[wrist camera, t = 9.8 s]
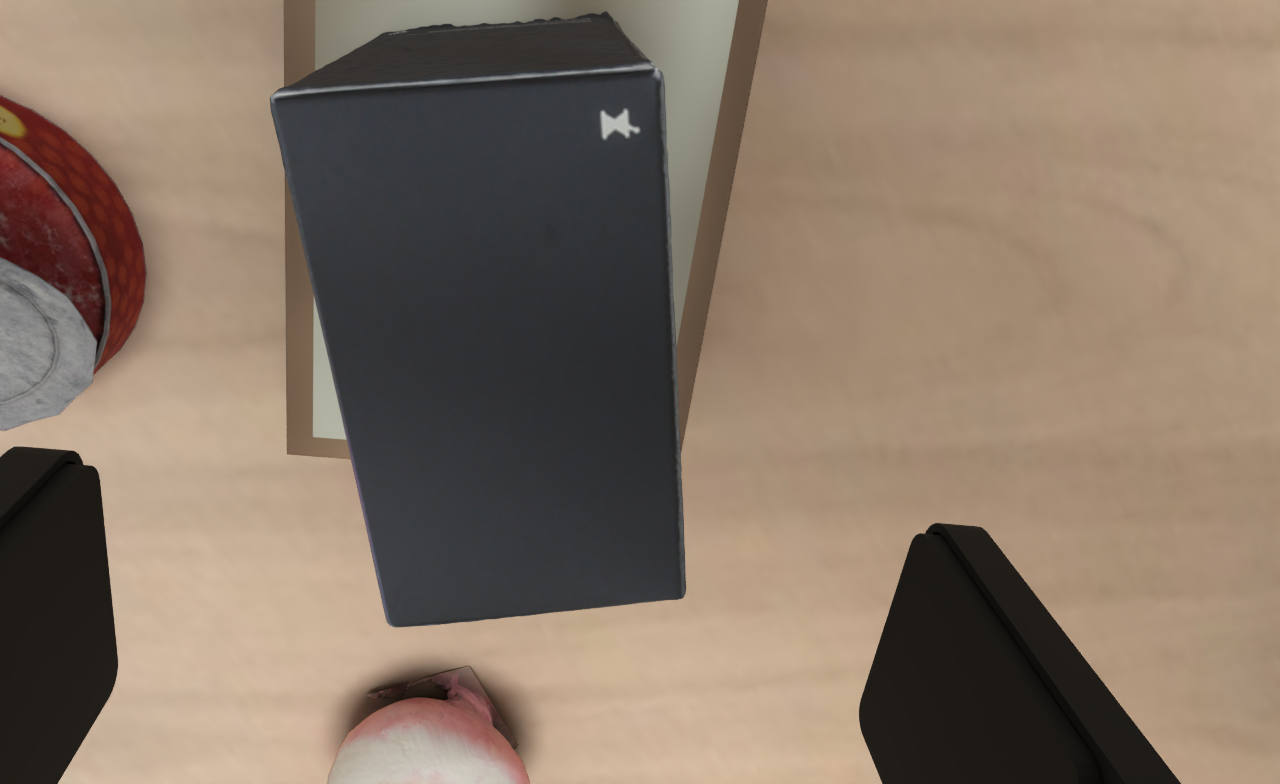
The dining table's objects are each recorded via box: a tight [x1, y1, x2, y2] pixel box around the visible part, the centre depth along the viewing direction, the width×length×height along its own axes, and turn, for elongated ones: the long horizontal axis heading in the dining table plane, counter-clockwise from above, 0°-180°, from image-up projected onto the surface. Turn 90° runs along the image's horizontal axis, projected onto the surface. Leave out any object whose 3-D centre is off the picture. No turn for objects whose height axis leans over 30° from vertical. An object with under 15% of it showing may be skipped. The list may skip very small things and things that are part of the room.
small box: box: [270, 11, 686, 627], centre depth 21 cm, size 11×6×10 cm, turn 4°
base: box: [284, 0, 768, 459], centre depth 27 cm, size 12×16×4 cm
